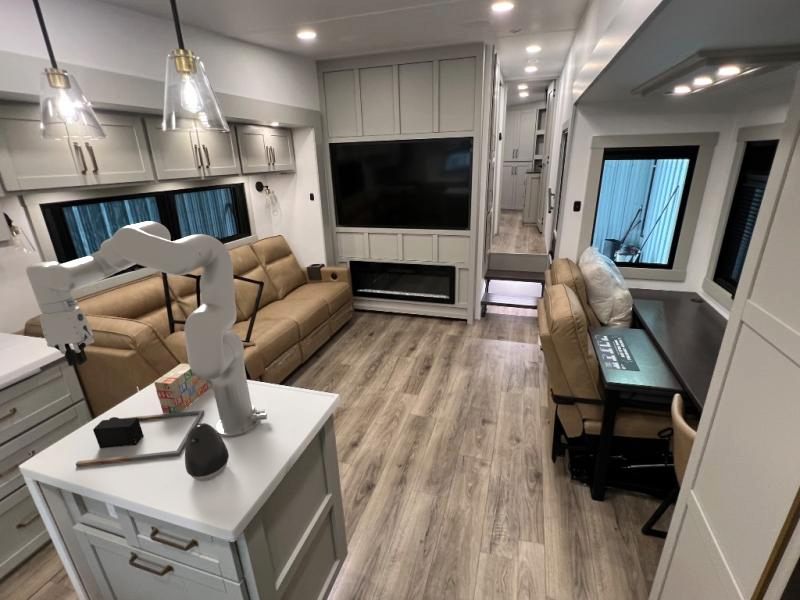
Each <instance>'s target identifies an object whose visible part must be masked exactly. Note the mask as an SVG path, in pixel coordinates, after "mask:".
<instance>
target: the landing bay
mask: <svg viewBox="0 0 800 600" xmlns="http://www.w3.org/2000/svg"><path fill="white" fill-rule="evenodd" d="M204 413H206V412H205V410H204V409H201V410H193V411H192V410H191V411H182V412H180V413H162V416H161V417H162V419H161V420H166V419H177V418H187V417H188V416H189V417H196V418H195V420H194V421H193V423H192V424H191V426H190V427H189V430H188V431H187V433H186V434H185V436H184V438H183V439H182V441H181V443H180V444H179V446H178V448H177V449H176V450H169V451H161V452H153V453H150V452H149V453H142V454H141V453H140V454H132V456H131V455H130V456H131V457H130V460H131V461H130V462H137V461H138V462H139V461H146V460H157V459H158V460H159V459H166V458H174V457H180V456H181V455H182V453H183V451H185V446H186V440H187V437H188V434H189V432H190V430H191V429H192V428H193V427H194V426H195V425H197V424H200V422H201V420H202V419H203V417H204V415H205V414H204ZM189 417H188V418H189Z"/></svg>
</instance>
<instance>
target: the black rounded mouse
mask: <svg viewBox="0 0 800 600" xmlns="http://www.w3.org/2000/svg"><path fill="white" fill-rule="evenodd" d="M229 455H230V453H229V450H228V448H227V446H226V444H225V442H224V439H223V438H222V436H221V435H219V434H218V432H217V429H215V428H214V426H211V425H210V424H208V423H206V422H201V423H200V422H199V424H197V425H195V426H194V427H193V428H192V429H191V430H190V432H189V434H188V437H187V440H186V446H185V448H184V463H185V464H184V465H185V470H186V473H187V475H189V476H190V477H191V478H193V479H194V480H196V481H199V482H207V481H211V480H213V479H215V478H217V477H219V476H220V475H221V474H222V473H223V472H224V471H225V469H226V467H227V465H228V461H229Z"/></svg>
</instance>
